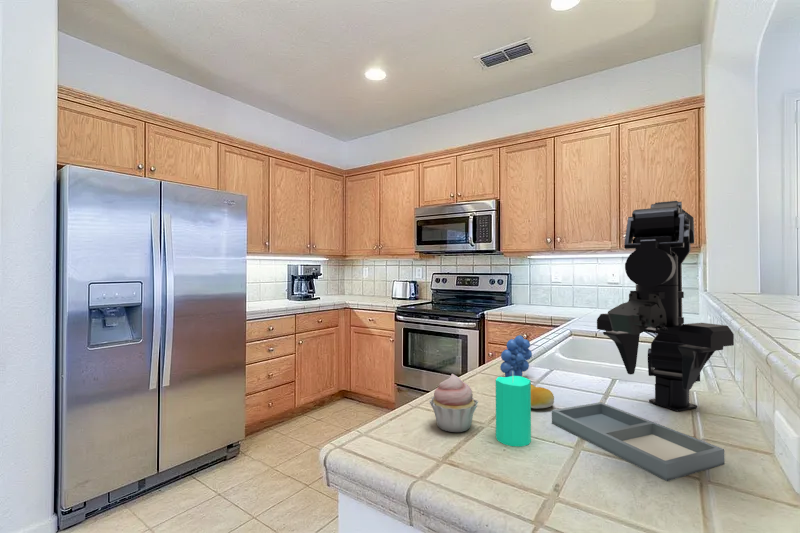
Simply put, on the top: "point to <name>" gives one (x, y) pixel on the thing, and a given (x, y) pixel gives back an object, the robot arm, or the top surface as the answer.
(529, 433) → the candle
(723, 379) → the top surface
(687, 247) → the robot arm
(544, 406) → the bread roll
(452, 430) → the cupcake
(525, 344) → the grapes
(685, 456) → the gray divided tray
